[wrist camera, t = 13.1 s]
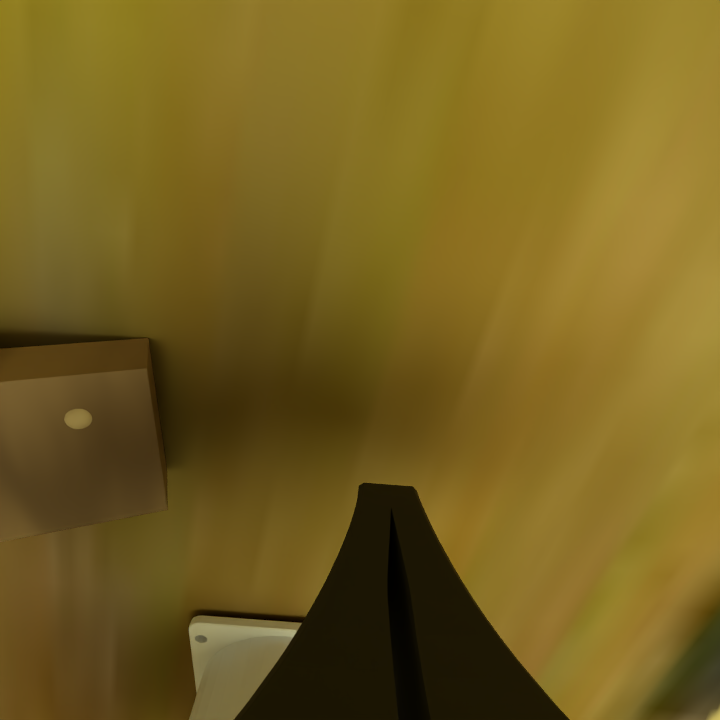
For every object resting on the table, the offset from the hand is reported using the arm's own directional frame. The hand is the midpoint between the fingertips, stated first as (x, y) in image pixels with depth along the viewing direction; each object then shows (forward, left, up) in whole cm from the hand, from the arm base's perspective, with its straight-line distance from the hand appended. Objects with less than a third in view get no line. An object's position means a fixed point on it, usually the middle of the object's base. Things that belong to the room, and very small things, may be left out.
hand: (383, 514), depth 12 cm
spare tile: (0, +7, -3) cm, 8 cm away
